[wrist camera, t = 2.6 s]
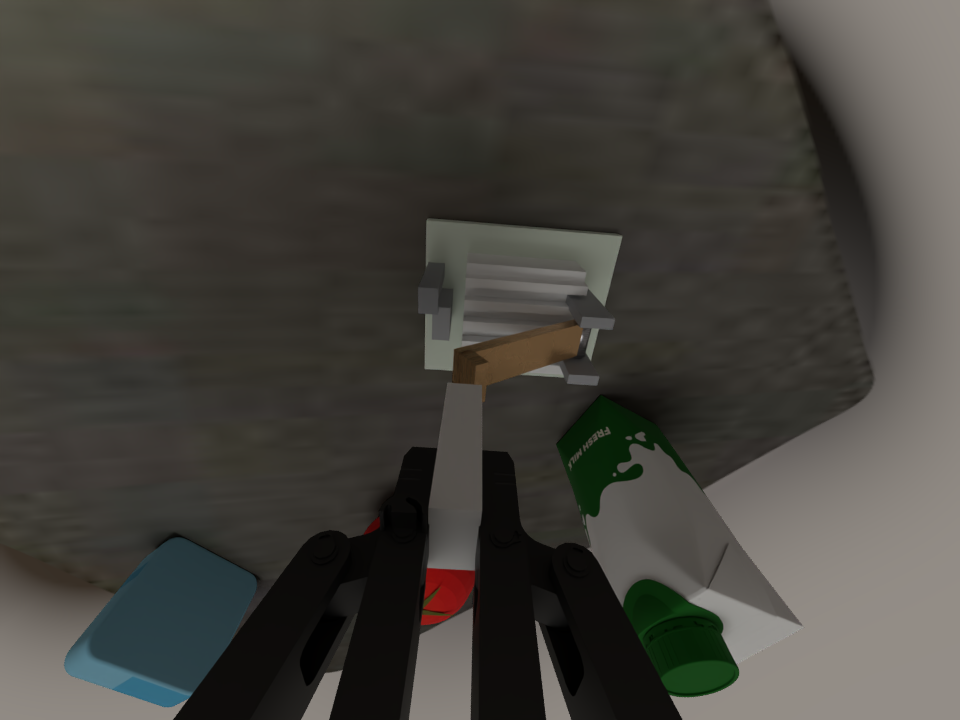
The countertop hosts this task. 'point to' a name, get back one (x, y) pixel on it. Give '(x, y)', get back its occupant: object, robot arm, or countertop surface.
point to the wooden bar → (518, 353)
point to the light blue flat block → (164, 625)
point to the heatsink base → (513, 287)
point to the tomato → (441, 589)
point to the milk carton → (669, 553)
